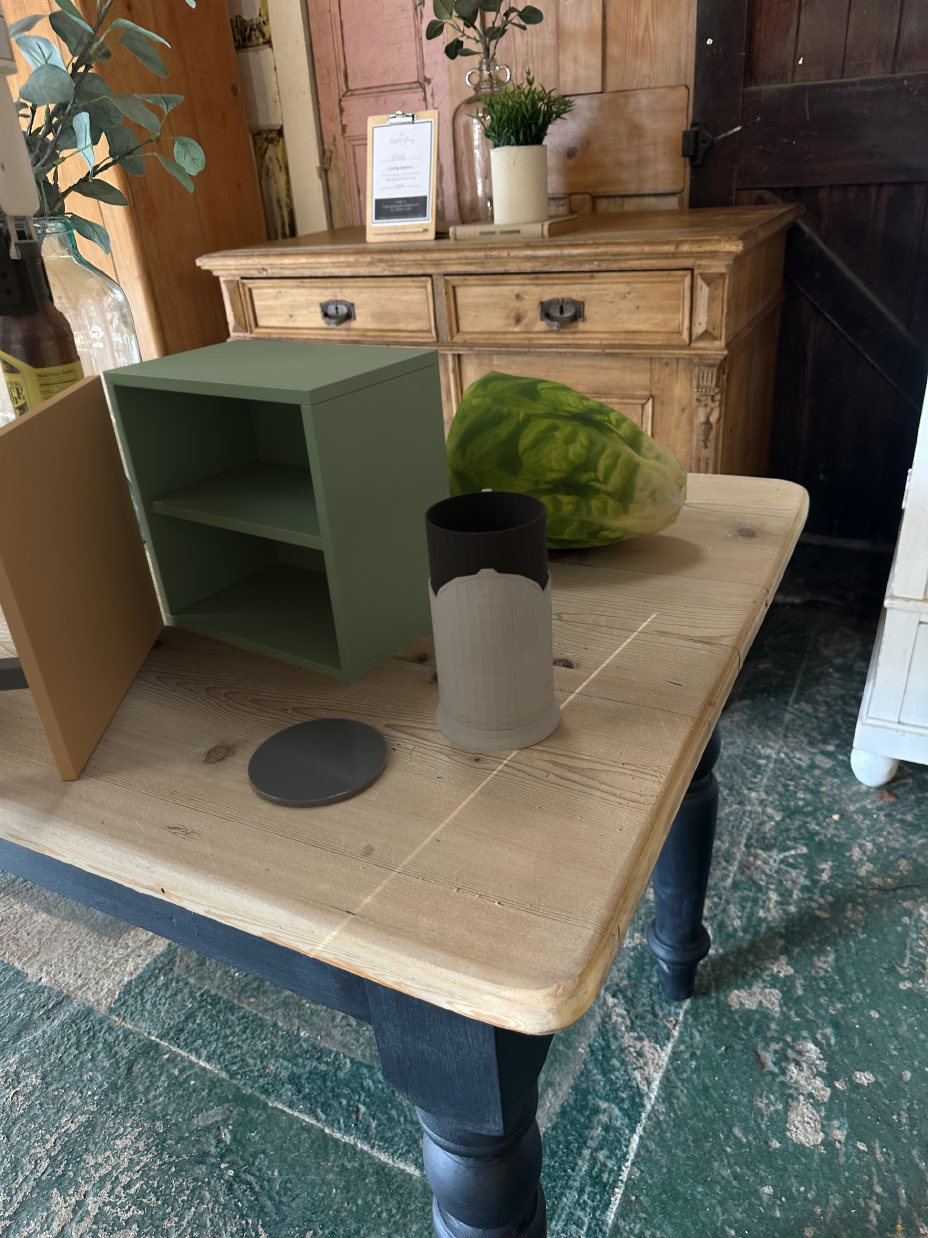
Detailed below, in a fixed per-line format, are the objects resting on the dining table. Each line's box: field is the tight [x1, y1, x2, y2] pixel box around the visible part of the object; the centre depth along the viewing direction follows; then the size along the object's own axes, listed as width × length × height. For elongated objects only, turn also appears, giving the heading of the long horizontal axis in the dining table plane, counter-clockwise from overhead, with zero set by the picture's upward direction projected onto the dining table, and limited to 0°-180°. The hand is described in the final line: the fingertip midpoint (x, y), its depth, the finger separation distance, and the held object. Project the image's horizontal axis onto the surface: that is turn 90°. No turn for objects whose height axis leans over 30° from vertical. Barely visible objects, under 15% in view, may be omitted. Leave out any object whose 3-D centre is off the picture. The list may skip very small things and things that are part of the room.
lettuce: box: [445, 370, 688, 550], centre depth 83 cm, size 17×23×16 cm
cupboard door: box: [0, 374, 165, 782], centre depth 61 cm, size 7×22×22 cm, turn 3°
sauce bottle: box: [0, 240, 86, 419], centre depth 74 cm, size 6×6×20 cm
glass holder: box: [425, 489, 562, 752], centre depth 59 cm, size 9×14×15 cm, turn 179°
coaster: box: [247, 717, 389, 809], centre depth 56 cm, size 9×9×1 cm
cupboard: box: [102, 338, 450, 685], centre depth 71 cm, size 14×22×22 cm, turn 55°
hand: (26, 308), depth 71 cm, fingers closed on sauce bottle, 4 cm apart
